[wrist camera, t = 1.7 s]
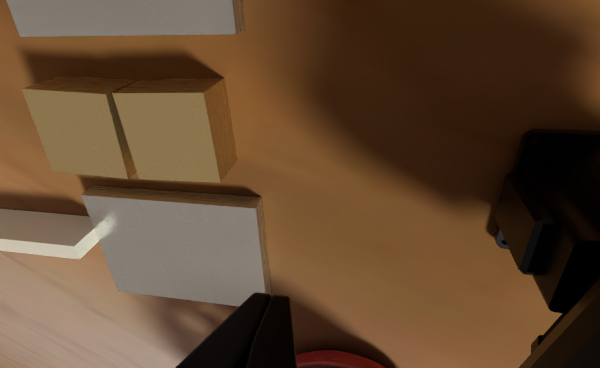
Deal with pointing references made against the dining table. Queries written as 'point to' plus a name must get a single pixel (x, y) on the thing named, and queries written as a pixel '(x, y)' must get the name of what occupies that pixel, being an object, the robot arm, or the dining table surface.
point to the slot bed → (161, 203)
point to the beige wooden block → (81, 125)
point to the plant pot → (333, 360)
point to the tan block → (178, 128)
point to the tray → (46, 233)
